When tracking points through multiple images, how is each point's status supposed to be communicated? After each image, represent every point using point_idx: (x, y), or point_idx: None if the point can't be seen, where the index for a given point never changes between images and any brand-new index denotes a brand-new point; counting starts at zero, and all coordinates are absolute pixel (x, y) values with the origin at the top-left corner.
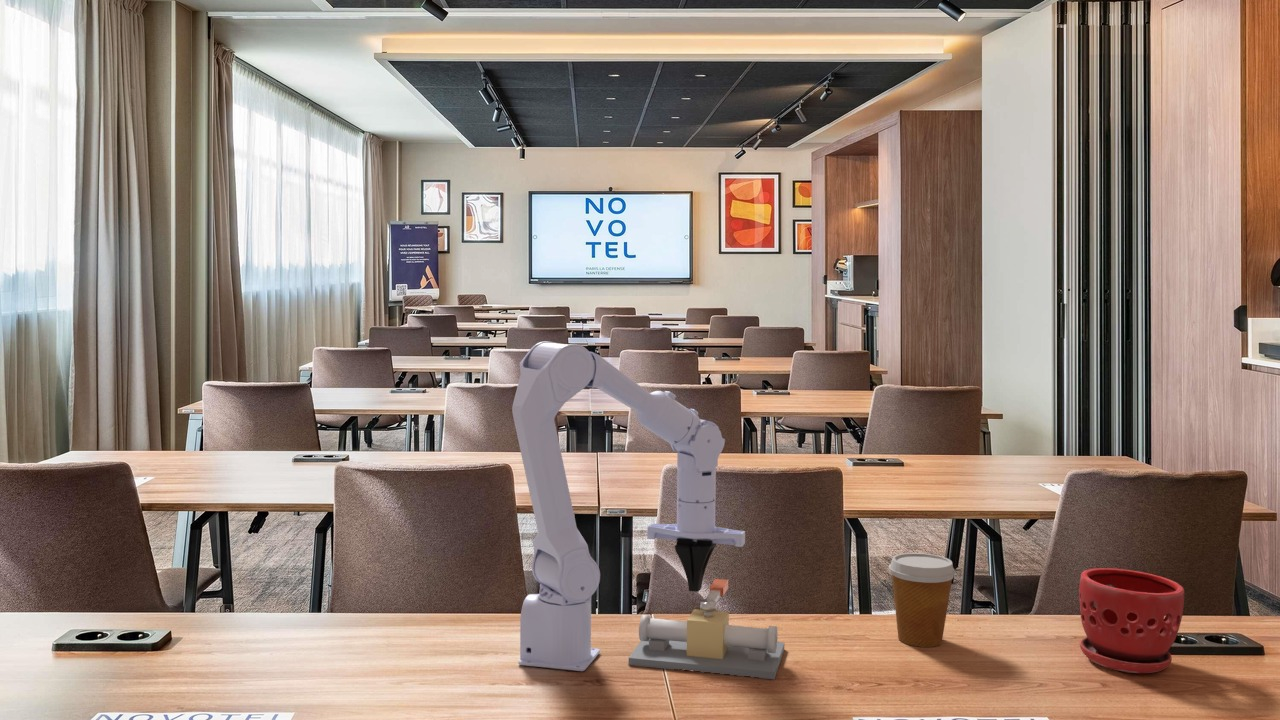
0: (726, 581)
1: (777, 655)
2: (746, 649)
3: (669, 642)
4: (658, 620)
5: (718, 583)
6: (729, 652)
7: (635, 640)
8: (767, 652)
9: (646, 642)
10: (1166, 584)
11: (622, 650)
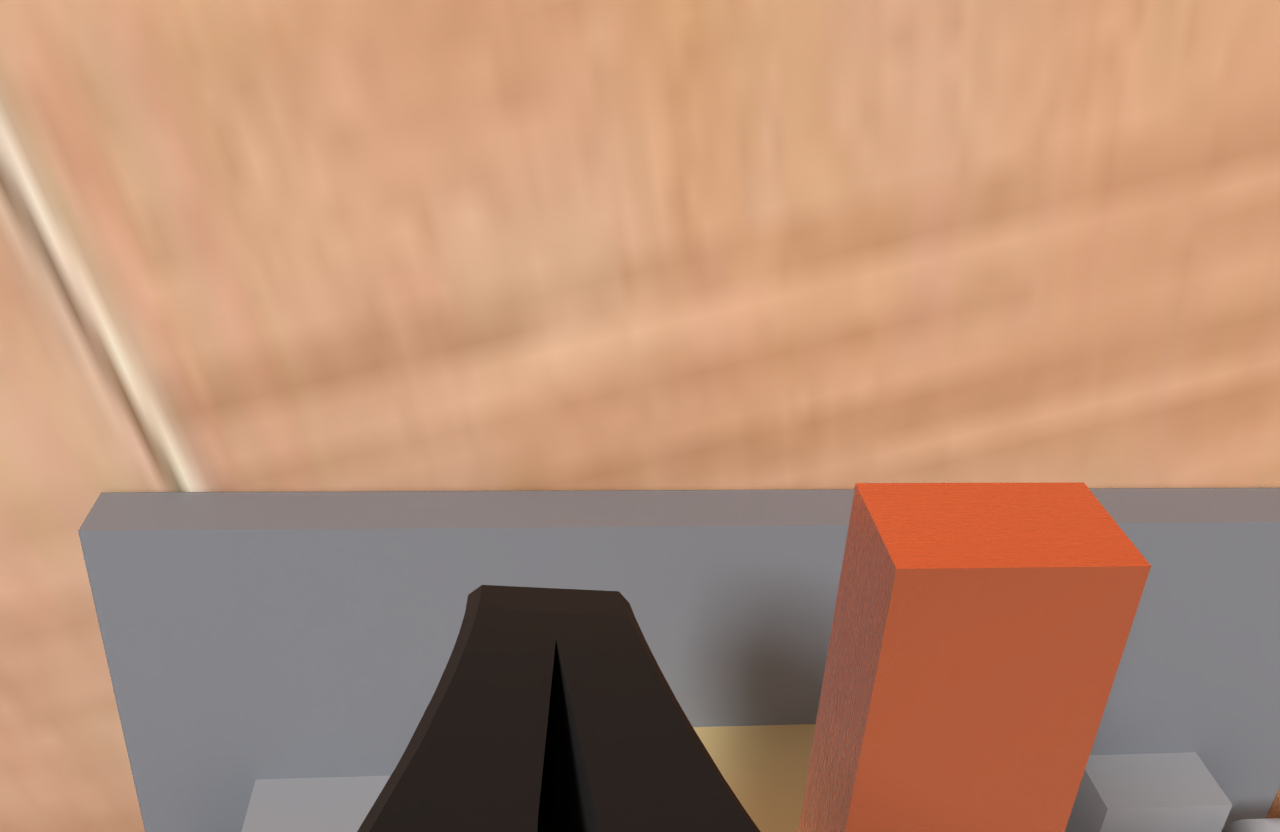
0: (1108, 652)
1: (1265, 777)
2: None
3: (389, 754)
4: None
5: (959, 781)
6: None
7: (18, 599)
8: (1200, 749)
9: (195, 800)
10: None
11: (29, 811)
